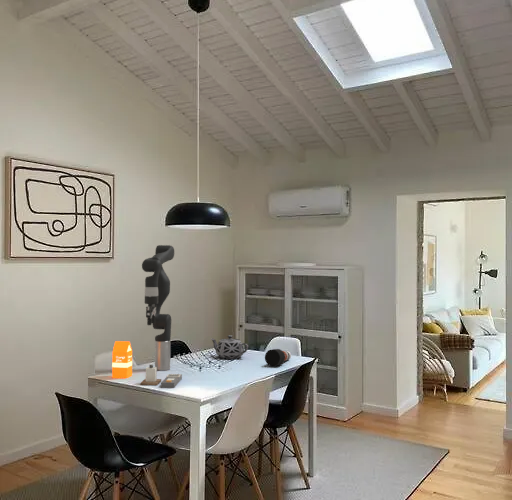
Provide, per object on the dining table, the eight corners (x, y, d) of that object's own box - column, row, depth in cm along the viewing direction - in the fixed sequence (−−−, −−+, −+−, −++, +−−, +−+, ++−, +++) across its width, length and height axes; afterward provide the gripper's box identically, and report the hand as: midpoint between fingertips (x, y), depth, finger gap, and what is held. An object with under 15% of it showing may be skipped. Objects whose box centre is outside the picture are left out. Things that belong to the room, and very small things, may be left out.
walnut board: (145, 381, 301) (145, 378, 301) (161, 381, 300) (161, 379, 300) (140, 385, 291) (140, 382, 291) (157, 385, 290) (157, 383, 290)
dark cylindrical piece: (292, 365, 372) (298, 352, 371) (275, 369, 341) (282, 354, 340) (279, 357, 376) (286, 344, 375) (262, 360, 345) (269, 346, 344)
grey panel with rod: (172, 375, 315) (172, 370, 315) (184, 375, 315) (184, 370, 315) (160, 387, 285) (160, 381, 285) (174, 387, 285) (174, 381, 285)
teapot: (217, 353, 392) (218, 332, 392) (255, 357, 376) (255, 335, 377) (202, 357, 375) (202, 335, 376) (240, 361, 360) (240, 338, 360)
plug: (147, 380, 298) (147, 364, 298) (156, 380, 298) (156, 364, 298) (145, 381, 294) (145, 365, 294) (154, 381, 294) (155, 365, 294)
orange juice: (117, 375, 316) (117, 340, 316) (132, 375, 315) (132, 340, 315) (111, 378, 308) (112, 342, 309) (126, 378, 307) (127, 342, 307)
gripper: (147, 294, 316) (147, 322, 316) (141, 295, 302) (141, 325, 301) (160, 294, 316) (160, 322, 315) (155, 296, 301) (154, 325, 301)
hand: (151, 324), depth 308 cm, fingers open, 8 cm apart
